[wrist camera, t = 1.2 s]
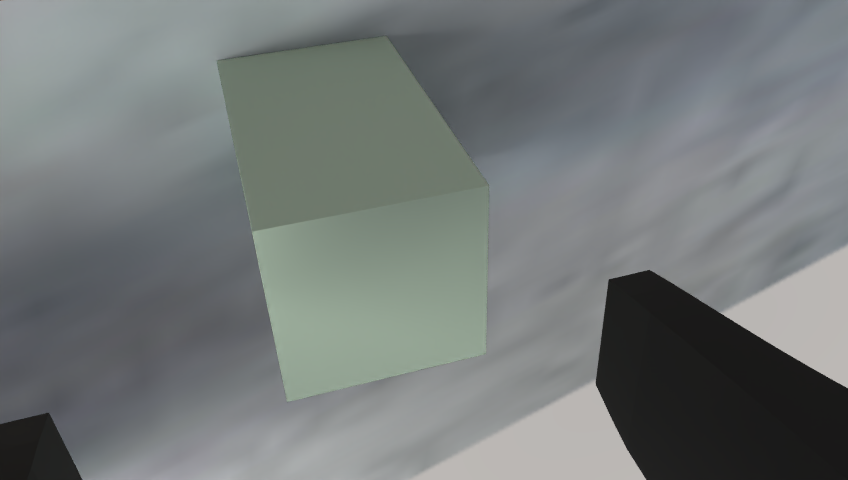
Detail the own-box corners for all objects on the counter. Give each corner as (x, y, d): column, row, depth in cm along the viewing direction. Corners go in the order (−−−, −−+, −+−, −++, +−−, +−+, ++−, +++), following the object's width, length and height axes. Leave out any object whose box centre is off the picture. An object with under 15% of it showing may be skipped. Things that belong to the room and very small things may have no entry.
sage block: (395, 177, 21) (485, 353, 16) (246, 205, 20) (287, 402, 15) (386, 36, 19) (489, 185, 13) (216, 60, 18) (252, 231, 12)
